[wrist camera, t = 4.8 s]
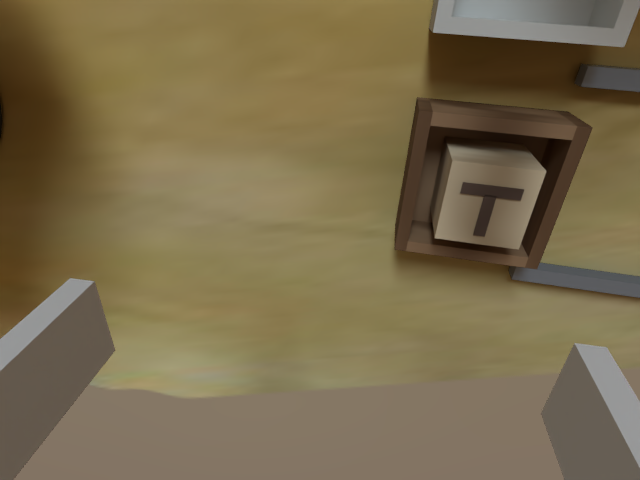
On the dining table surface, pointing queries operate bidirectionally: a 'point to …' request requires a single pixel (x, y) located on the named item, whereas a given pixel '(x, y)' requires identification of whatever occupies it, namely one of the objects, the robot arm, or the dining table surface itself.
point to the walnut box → (491, 125)
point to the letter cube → (484, 192)
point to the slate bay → (576, 276)
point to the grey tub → (538, 19)
